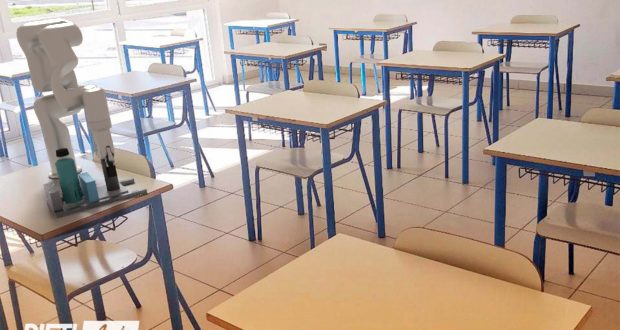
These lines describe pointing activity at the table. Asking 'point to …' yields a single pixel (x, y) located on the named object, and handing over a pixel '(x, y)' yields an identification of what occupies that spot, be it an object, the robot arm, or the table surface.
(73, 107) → the robot arm
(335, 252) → the table surface
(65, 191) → the beverage bottle
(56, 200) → the clamp frame
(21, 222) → the table surface
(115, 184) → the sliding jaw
